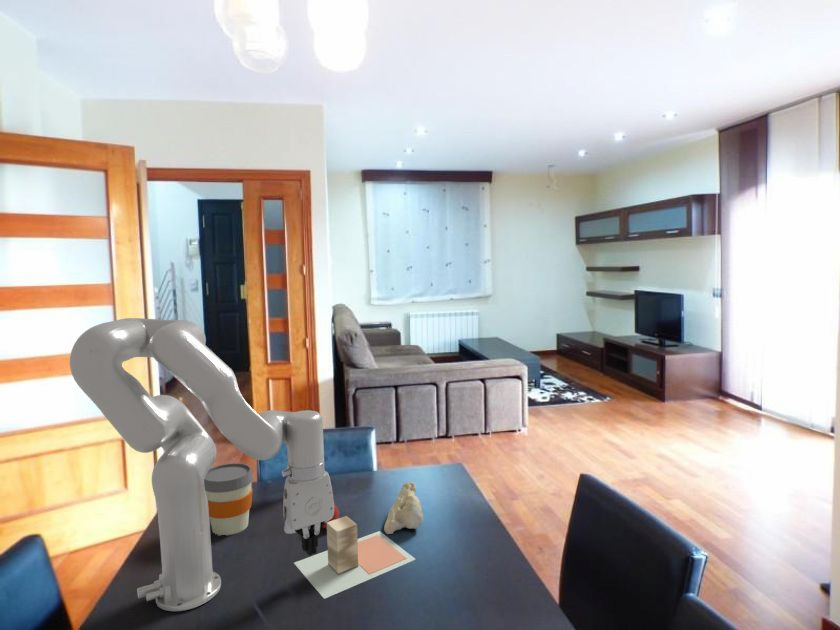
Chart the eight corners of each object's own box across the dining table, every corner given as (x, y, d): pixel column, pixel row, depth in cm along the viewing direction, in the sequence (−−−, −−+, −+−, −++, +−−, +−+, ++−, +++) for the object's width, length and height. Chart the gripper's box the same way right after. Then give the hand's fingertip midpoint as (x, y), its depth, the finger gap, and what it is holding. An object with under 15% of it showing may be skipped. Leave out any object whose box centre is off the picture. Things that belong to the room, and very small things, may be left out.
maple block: (338, 575, 113) (336, 531, 112) (328, 564, 117) (326, 522, 116) (358, 566, 116) (357, 524, 115) (347, 556, 120) (346, 515, 119)
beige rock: (411, 552, 126) (446, 500, 132) (389, 533, 125) (425, 482, 131) (390, 541, 139) (422, 495, 146) (370, 524, 138) (404, 478, 145)
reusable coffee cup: (202, 543, 128) (199, 485, 126) (206, 519, 139) (203, 466, 138) (255, 533, 132) (252, 477, 130) (254, 512, 143) (252, 460, 142)
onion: (334, 535, 130) (333, 505, 129) (313, 533, 131) (312, 503, 130) (342, 524, 136) (341, 495, 135) (322, 522, 137) (321, 493, 136)
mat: (324, 601, 105) (324, 598, 105) (293, 564, 118) (293, 562, 118) (416, 561, 118) (415, 558, 118) (379, 532, 131) (379, 530, 131)
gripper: (278, 485, 102) (283, 572, 104) (346, 466, 110) (349, 547, 112) (265, 473, 108) (270, 556, 110) (330, 456, 116) (333, 533, 118)
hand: (310, 551), depth 111 cm, fingers closed
